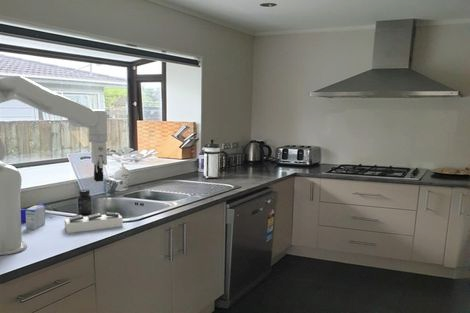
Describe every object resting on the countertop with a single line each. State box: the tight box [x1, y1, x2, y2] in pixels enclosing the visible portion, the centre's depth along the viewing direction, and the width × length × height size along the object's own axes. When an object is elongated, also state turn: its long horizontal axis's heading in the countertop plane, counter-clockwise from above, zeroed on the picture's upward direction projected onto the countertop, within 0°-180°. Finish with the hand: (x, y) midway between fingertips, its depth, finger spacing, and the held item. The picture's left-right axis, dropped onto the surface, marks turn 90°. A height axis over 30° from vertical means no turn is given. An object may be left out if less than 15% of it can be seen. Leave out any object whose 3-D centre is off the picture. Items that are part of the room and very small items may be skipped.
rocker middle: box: [87, 212, 102, 220], centre depth 172 cm, size 5×3×1 cm, turn 120°
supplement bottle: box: [76, 188, 93, 217], centre depth 193 cm, size 7×7×12 cm
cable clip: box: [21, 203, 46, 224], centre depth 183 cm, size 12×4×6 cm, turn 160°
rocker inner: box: [68, 215, 84, 222], centre depth 168 cm, size 5×3×1 cm, turn 120°
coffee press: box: [201, 139, 229, 180], centre depth 301 cm, size 17×16×30 cm
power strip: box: [64, 214, 123, 234], centre depth 174 cm, size 23×8×4 cm, turn 120°
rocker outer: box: [104, 211, 120, 217], centre depth 176 cm, size 5×3×1 cm, turn 120°
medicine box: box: [25, 205, 46, 230], centre depth 172 cm, size 8×4×9 cm, turn 178°
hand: (98, 180), depth 171 cm, fingers closed
